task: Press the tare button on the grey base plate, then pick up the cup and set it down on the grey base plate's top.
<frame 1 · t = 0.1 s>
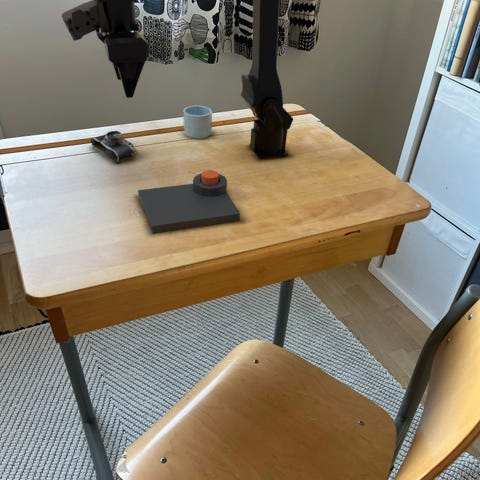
hand: (124, 88, 90), 15 cm above the table, tool pointing down, fingers open, 9 cm apart
tare button: (210, 177, 90), point 3 cm above the table, slide at 0.1 cm
cup: (197, 133, 112), on the table
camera: (113, 153, 104), on the table
grey base plate: (188, 208, 89), on the table
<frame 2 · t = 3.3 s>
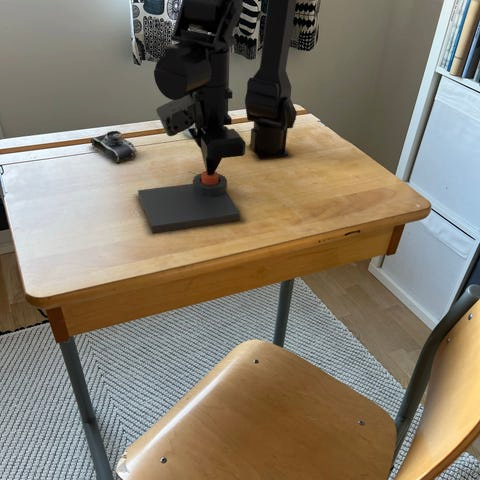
hand: (210, 174, 90), 4 cm above the table, tool pointing down, fingers closed, pressing on tare button
tare button: (210, 178, 90), point 3 cm above the table, slide at 0.1 cm, touching gripper
everything else where it was.
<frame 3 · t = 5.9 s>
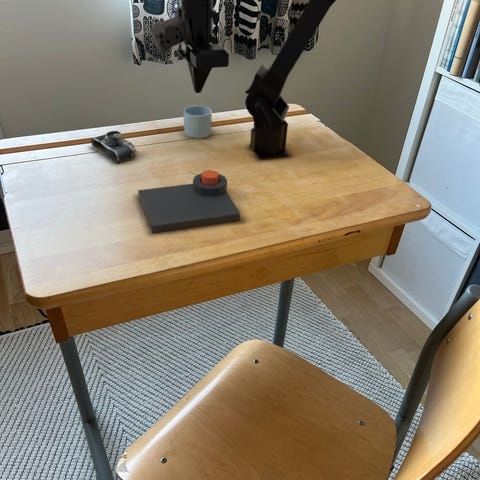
hand: (197, 92, 102), 10 cm above the table, tool pointing down, fingers closed
tare button: (210, 177, 90), point 3 cm above the table, slide at 0.1 cm
everything else where it was.
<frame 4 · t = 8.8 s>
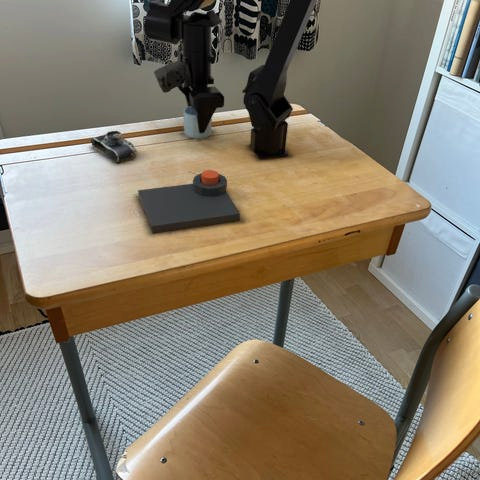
hand: (197, 126, 111), 2 cm above the table, tool pointing down, fingers closed on cup, 6 cm apart
cup: (197, 133, 112), on the table, touching gripper
everything else where it was.
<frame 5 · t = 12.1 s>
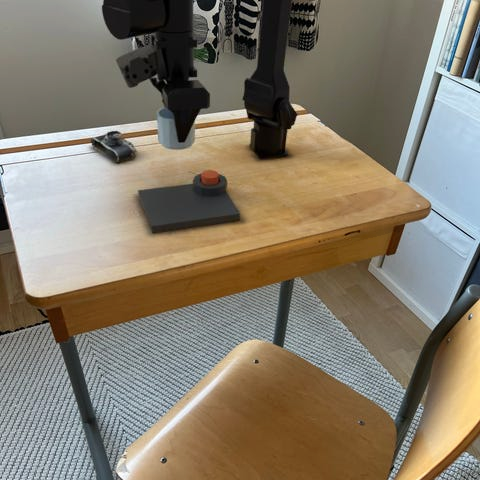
hand: (177, 134, 84), 11 cm above the table, tool pointing down, fingers closed on cup, 6 cm apart
cup: (176, 143, 85), point 10 cm above the table, touching gripper
everything else where it was.
when the fingers open (3 cm above the table, at t = 15.5 s): cup stays where it is, resting on grey base plate.
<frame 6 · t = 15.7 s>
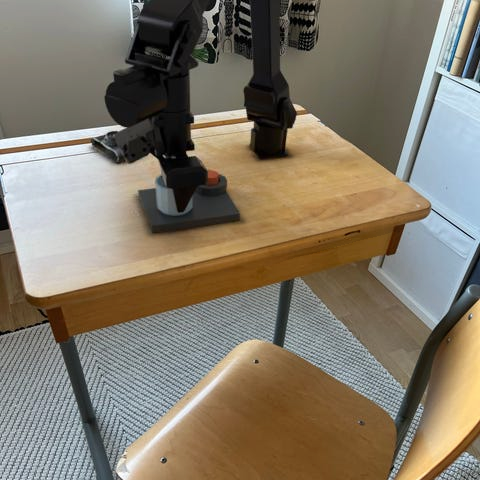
hand: (175, 200, 85), 3 cm above the table, tool pointing down, fingers open, 7 cm apart
cup: (175, 207, 86), point 1 cm above the table, touching grey base plate
everything else where it was.
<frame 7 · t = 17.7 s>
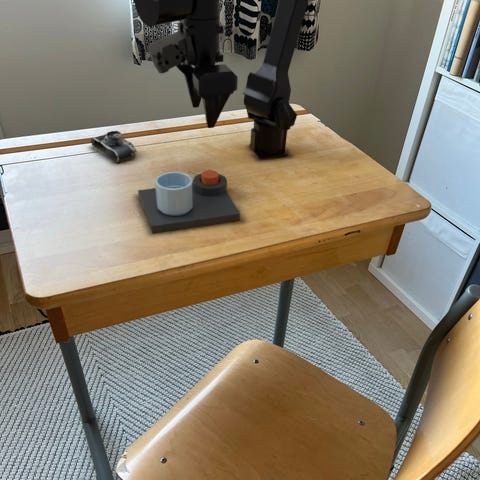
hand: (202, 117, 89), 12 cm above the table, tool pointing down, fingers open, 9 cm apart
nothing on the table moved.
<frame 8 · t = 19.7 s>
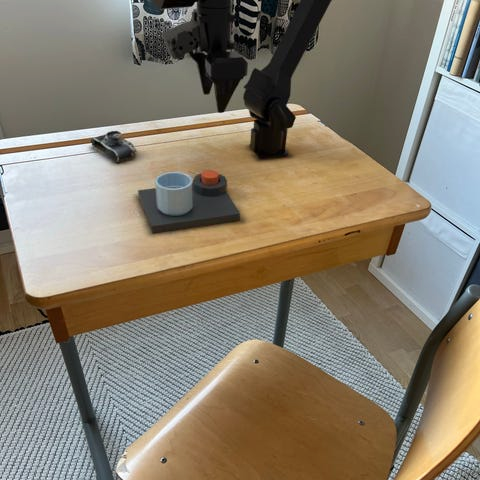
hand: (213, 103, 94), 12 cm above the table, tool pointing down, fingers open, 9 cm apart
nothing on the table moved.
at the end: tare button pushed in 0.9 cm at the most during the clip, back to where it started at the end; cup inside the target area on the grey base plate (3.0 cm from its centre), point 1.4 cm above the grey base plate's base; cup touching grey base plate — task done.
